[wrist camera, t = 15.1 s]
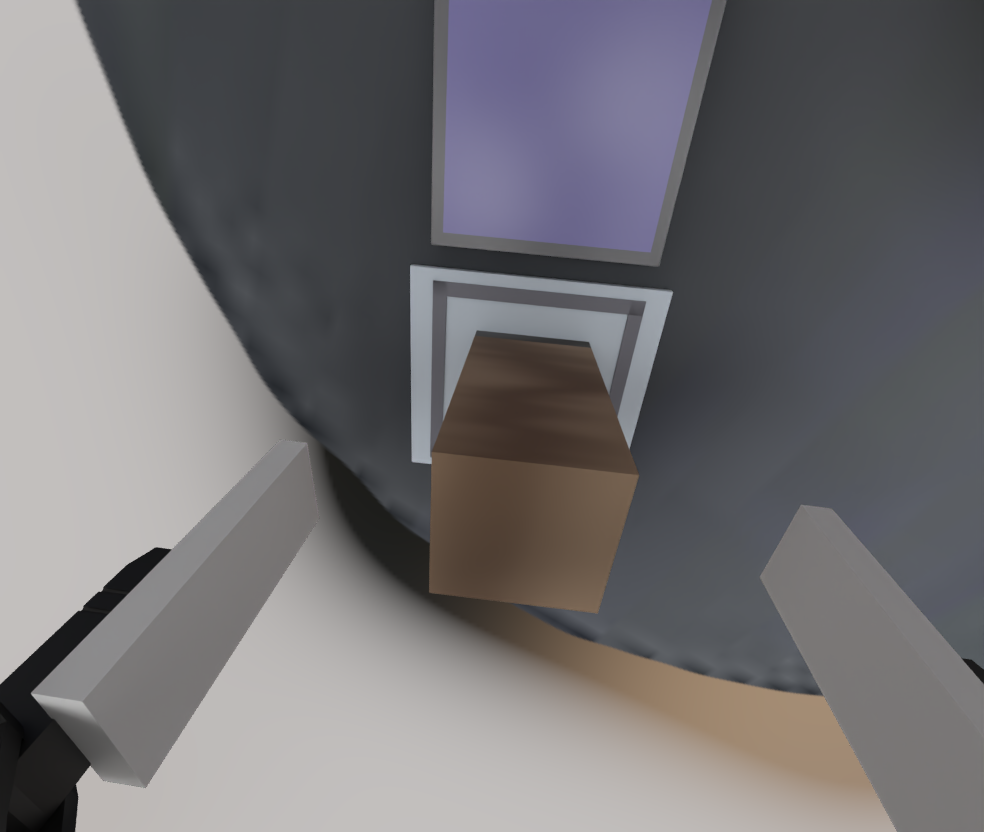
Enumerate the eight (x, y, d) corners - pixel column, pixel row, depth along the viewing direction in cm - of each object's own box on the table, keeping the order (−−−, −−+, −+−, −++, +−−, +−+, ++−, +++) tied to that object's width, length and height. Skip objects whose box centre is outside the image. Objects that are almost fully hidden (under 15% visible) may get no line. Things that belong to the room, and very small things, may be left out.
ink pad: (727, -40, 13) (744, -59, 12) (652, 262, 18) (660, 267, 17) (441, -61, 14) (434, -82, 13) (435, 241, 18) (429, 244, 17)
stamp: (588, 341, 19) (639, 475, 10) (569, 438, 21) (597, 613, 13) (476, 330, 19) (431, 451, 10) (470, 426, 22) (429, 592, 13)
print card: (670, 289, 18) (673, 292, 18) (618, 480, 23) (619, 486, 22) (412, 264, 18) (409, 266, 18) (413, 457, 23) (411, 462, 23)
